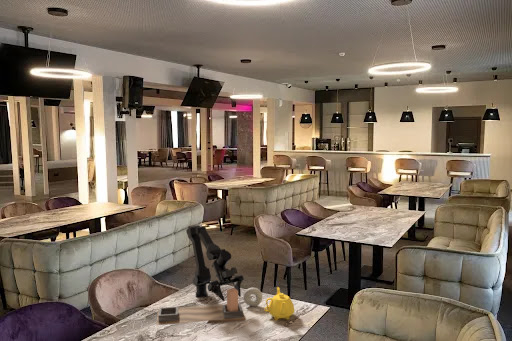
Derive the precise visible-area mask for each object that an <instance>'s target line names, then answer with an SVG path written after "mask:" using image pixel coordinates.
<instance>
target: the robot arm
mask: <svg viewBox="0 0 512 341" xmlns="http://www.w3.org/2000/svg"><path fill="white" fill-rule="evenodd" d="M185 231H186V234H187V237H188V239H189V240H190V242H191V243H192V248H193V255H194V260H195V266H196V269H195V271H194V277H193V279H192V285H193V286H195V287H196V288H195V289H196V290H195V298H198V297H200V298H202V297H208V296H209V295H208V292H211V293H213V294H215V295H216V296H217V297H218V298H219V299H220V300H221V301H223V302H224V301H226V300H225V296H224V293H223V292H222V290H221V287H222V286H226V285H229V284H233V285H234V286H233V288H235V289H236V290H238V298H240V297H241V296H242V294H241V292H242V291H241V285H242V283H243V282H244V280H245V277H244V275H242V274H239V275H236V274H238V269H237V267H236V266H235V267H234V266H233V267H231V269H229V268H227V267H226V266H227V265H228V263H229V262H230V261H231V259H232V254H231V252H229V251H228V250H226V249H225V248H222V249H221V248H220V246H219V245H217V244H215V243H214V241H213V239H212V238H211V236H210V235H209V233H208V231H207V227H206V226H204V225H202V226H201V225H200V224H199V225H191V226H190V225H189V226H188V227H187V228H186V230H185ZM202 244H203V246H204V247H205V250H206V251H205V254H206V258H207V259H208V260H209V261H212V264H211V268H213V269H214V271H215V278H217V279H218V280H212V281H211V279H212V273H211V270H210V268H208V266H206V263H205V257H204V252H203V246H202ZM234 276H235V277H234Z"/></svg>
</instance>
